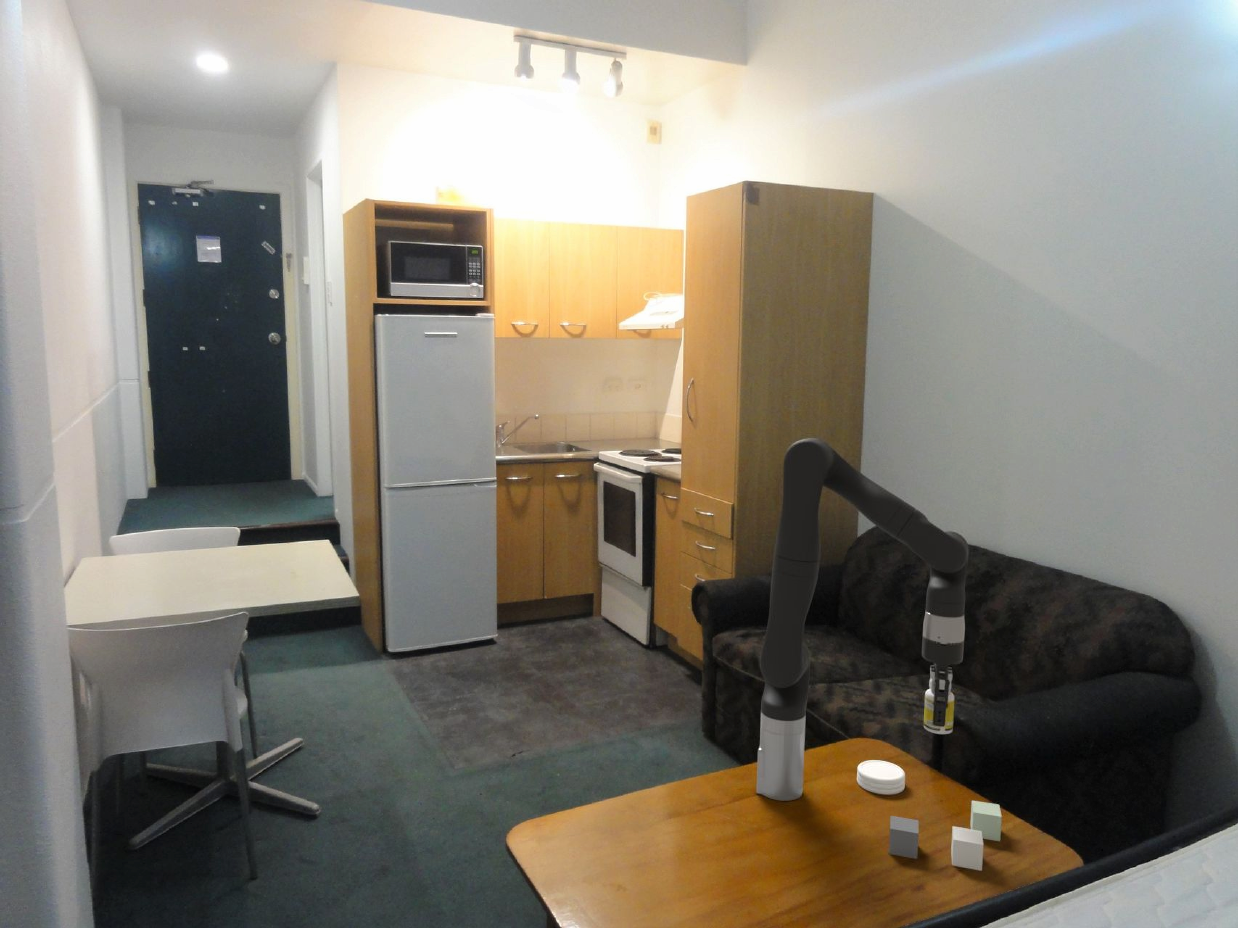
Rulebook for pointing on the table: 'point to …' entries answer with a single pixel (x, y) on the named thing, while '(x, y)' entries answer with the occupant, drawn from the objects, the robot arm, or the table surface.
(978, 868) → the pale grey block
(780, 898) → the table surface
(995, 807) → the sage block
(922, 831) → the table surface
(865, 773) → the coaster
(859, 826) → the table surface
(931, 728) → the supplement bottle
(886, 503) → the robot arm
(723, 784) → the table surface
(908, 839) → the medium grey block
